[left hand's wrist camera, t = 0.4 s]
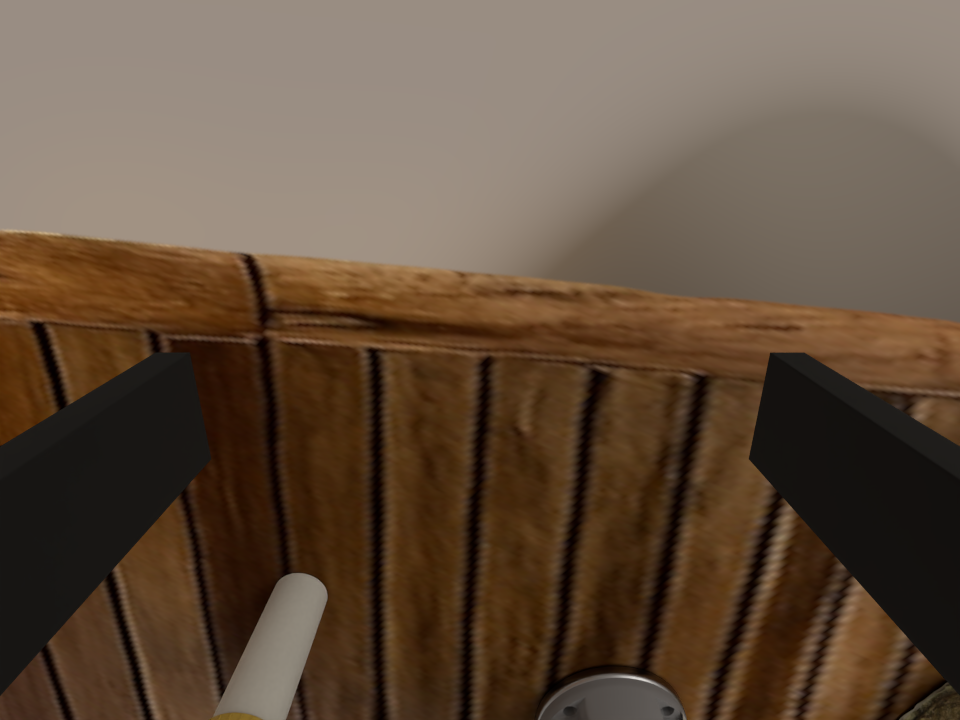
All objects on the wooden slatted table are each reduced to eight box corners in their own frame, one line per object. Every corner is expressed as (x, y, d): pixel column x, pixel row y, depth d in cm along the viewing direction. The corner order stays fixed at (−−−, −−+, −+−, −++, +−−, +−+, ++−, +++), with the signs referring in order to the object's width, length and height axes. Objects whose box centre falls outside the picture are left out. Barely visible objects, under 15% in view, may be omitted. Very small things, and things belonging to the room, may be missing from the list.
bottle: (318, 568, 49) (252, 738, 35) (334, 609, 51) (276, 787, 37) (267, 577, 49) (180, 748, 35) (284, 617, 51) (208, 796, 37)
